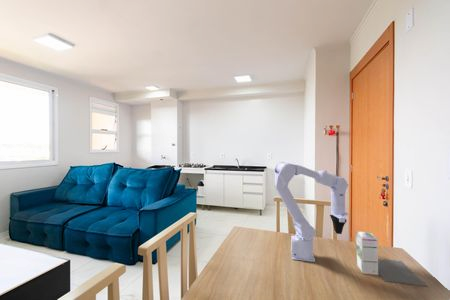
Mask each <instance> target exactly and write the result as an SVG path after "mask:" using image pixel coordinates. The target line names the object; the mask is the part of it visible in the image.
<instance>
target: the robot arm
mask: <svg viewBox="0 0 450 300" xmlns="http://www.w3.org/2000/svg"><path fill="white" fill-rule="evenodd" d="M273 173H274V187H275V189H276V191H277V194H278V195H279V196H280V198H281V200H282V202H283V204H284V206H285V208H286V209H287V211H288V214H289V215H290V216H291V218H292V223H293V229H294V230H295V231H296V233H295V235H291V237H290V239H291V240H290V241H291V242H290V243H291V244H290V246H291V247H290V253H291V260H294V261H295V260H296V261H304V262H311V263H316V258H315V255H314V239H315V237H316V235H317V234H316V233H317V232H316V229H315V227H313V226H312V225H311V224H310V223H309V221H308V220H307V219H306V217H305V216H304V214H303V213H302V210H301V209H300V207H299V205H298V203H297V202H296V199H295V198H294V196H293V194H292V193H291V191H290V188H289V187H288V186H289V183H290V182H291V181H292V179H293V178H294V177H295V176H298V175H302V176H306V177H309V178H312V179H314V181H315V182H316V183H318V184H321V185H323V186H326V187H329V188H330V210H329V211H330V215H329V217H330V220H331V223H332V225H333V231H334V232H335V233H336V235H342V232H343V230H344V226H345V224H346V223H347V219H346V216H348V215H349V213H348V212H346V190H347V189H348V187H349V183H348V181H347V180H346V178H344V177H341V176H337V174H335V173H333V174H332V173H330V172H328V171H327V170H324V169H322V170H318V171H315V170H314V169H313V170H312V169H310V168H307V167H305V166H302V165H299V164H293V163H289V162H288V163H286V162H284V161H281V162H279V163H277V164H276V166H275V167H274V169H273Z"/></svg>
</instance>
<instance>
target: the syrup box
mask: <svg viewBox="0 0 450 300" xmlns="http://www.w3.org/2000/svg"><path fill="white" fill-rule="evenodd" d="M355 235H356V237H355V242H356V243H355V244H356V248H355V249H356V267H357V268H358V269H359V271H360V272H361V274H366V275H374V276H378V275H379V273H378V259H379V251H378V249H379V248H378V247H379V246H378V241H379V240H378V238H377V237H376V236H375V235H374V234H373V233H372V232H371V231H355Z"/></svg>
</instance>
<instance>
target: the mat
mask: <svg viewBox="0 0 450 300" xmlns="http://www.w3.org/2000/svg"><path fill="white" fill-rule="evenodd" d="M378 275H379V276H380V277H381V279H382V280H383V281H384V282H390V283H398V284H405V285H412V286H413V285H414V286H419V287H428V285H427V283H425V282H424V281H423V280H422V279H421V278H420V277H419V276H418V275H416V273H415V272H414V271H412V269H410V268H409V266H407V265H406V264H405V263H404V262H403V261H402V260H395V259H394V260H392V259H386V258H385V259H383V258H378Z"/></svg>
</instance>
